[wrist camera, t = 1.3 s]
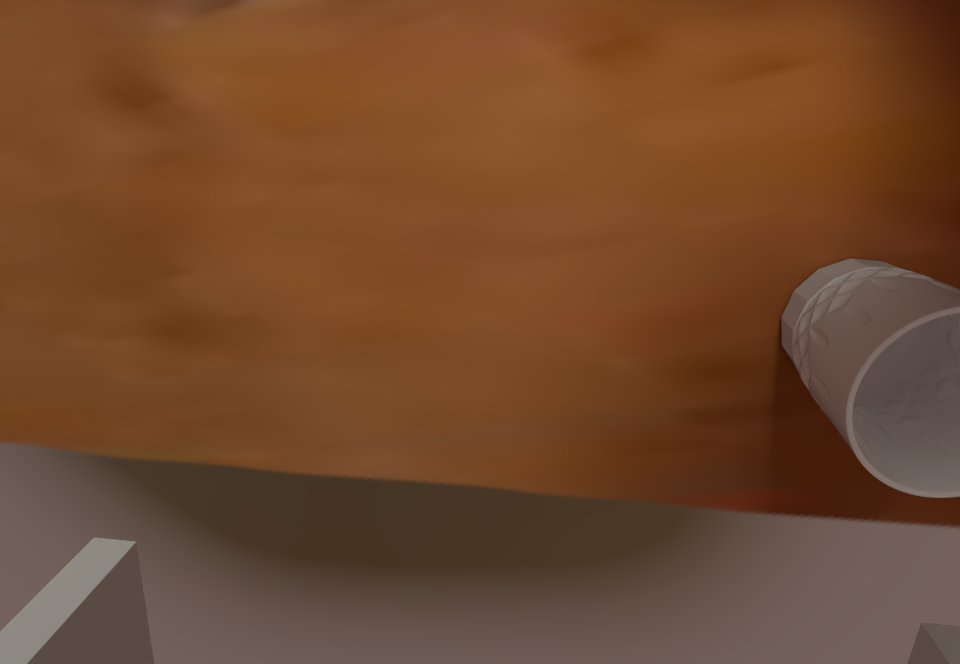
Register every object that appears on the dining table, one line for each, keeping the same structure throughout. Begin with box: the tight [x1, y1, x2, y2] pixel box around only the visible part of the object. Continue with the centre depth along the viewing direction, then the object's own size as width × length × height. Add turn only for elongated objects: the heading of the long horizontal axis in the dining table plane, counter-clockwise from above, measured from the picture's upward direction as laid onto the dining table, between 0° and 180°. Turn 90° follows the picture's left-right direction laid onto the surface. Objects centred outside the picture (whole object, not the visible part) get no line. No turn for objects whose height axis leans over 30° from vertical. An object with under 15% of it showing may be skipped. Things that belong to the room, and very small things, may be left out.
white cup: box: [781, 258, 960, 498], centre depth 31 cm, size 8×8×10 cm
